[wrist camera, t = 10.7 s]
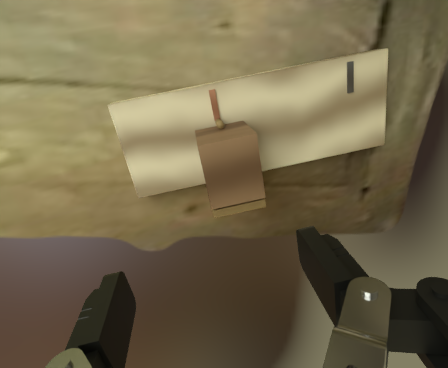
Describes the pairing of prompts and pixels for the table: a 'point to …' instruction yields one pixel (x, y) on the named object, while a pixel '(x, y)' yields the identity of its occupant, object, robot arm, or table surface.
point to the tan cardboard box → (231, 167)
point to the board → (257, 118)
